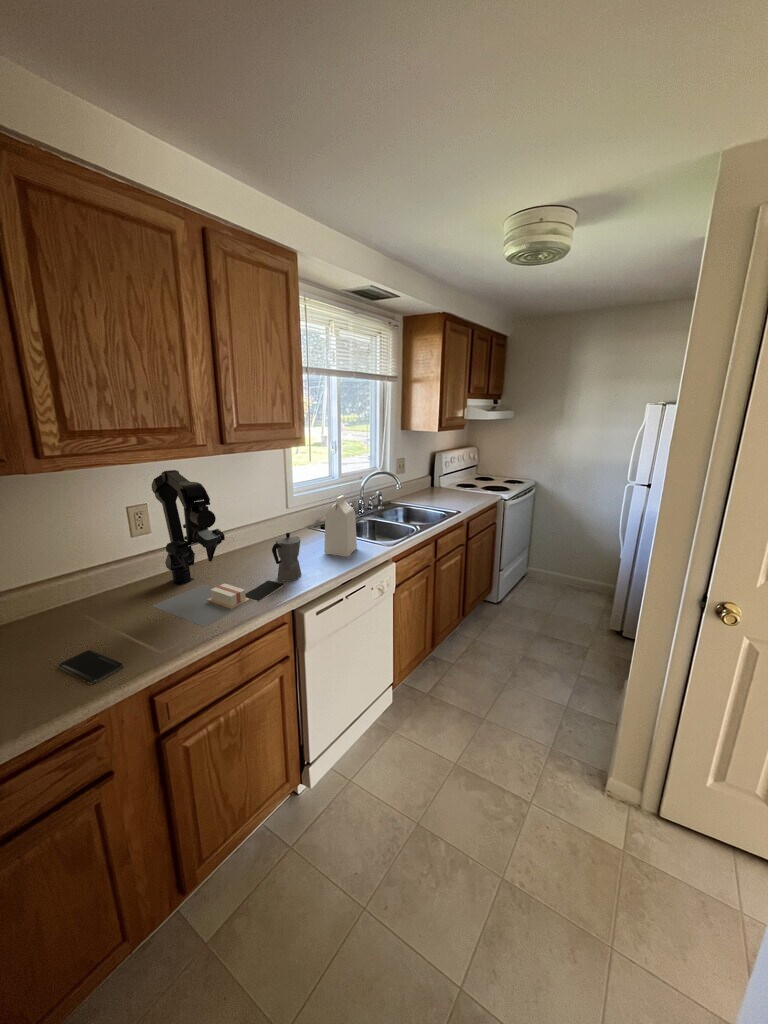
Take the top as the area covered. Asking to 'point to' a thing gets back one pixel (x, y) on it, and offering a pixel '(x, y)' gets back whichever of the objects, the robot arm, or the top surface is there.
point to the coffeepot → (287, 557)
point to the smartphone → (264, 590)
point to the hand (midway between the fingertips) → (198, 565)
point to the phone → (90, 666)
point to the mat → (199, 606)
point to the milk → (340, 529)
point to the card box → (228, 594)
